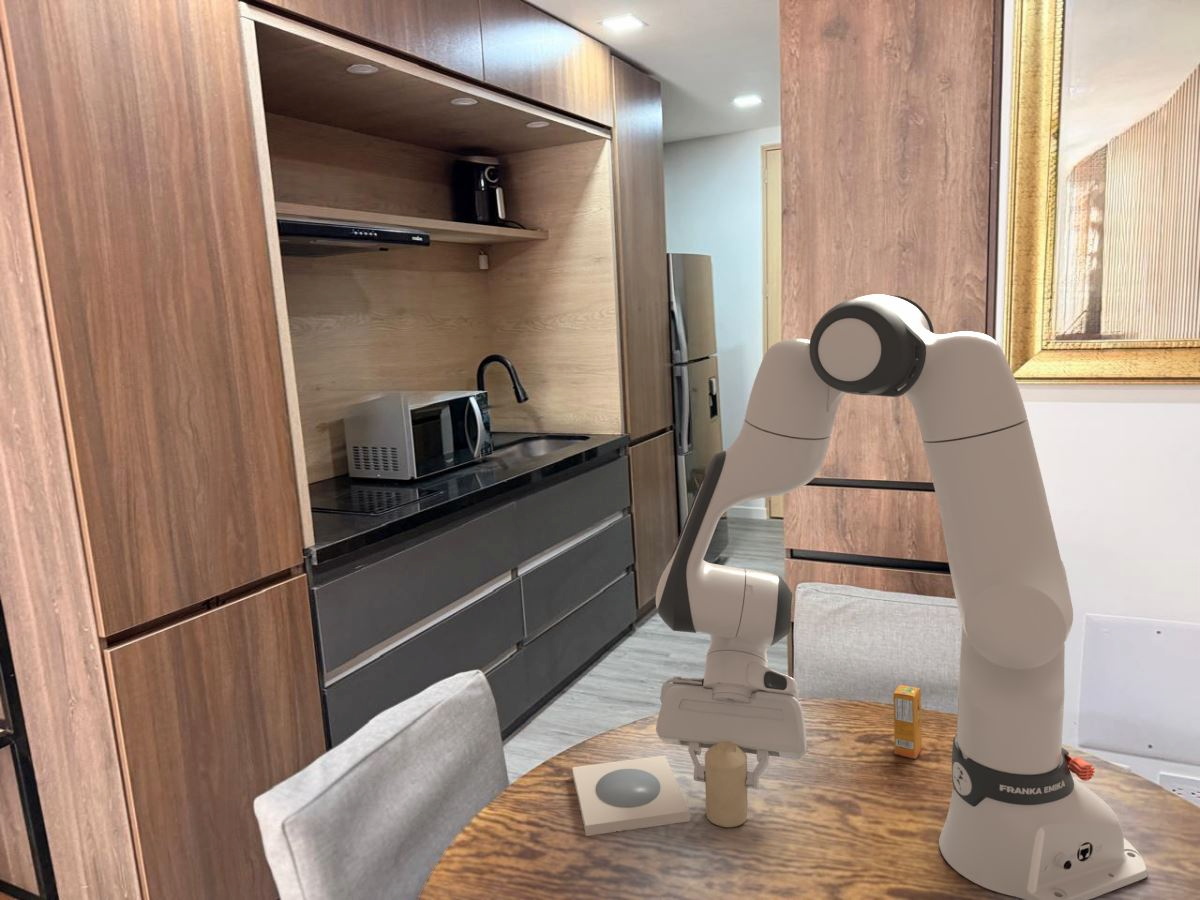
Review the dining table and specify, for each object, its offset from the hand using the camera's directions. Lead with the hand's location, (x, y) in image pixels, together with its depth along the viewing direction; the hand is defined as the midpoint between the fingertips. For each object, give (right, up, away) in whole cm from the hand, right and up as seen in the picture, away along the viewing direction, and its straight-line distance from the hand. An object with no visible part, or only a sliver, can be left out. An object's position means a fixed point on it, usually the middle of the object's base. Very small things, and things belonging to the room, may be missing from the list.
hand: (725, 784), depth 107 cm
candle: (0, -5, +1) cm, 5 cm away
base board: (-13, -5, +7) cm, 15 cm away
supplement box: (+30, -1, +15) cm, 33 cm away
